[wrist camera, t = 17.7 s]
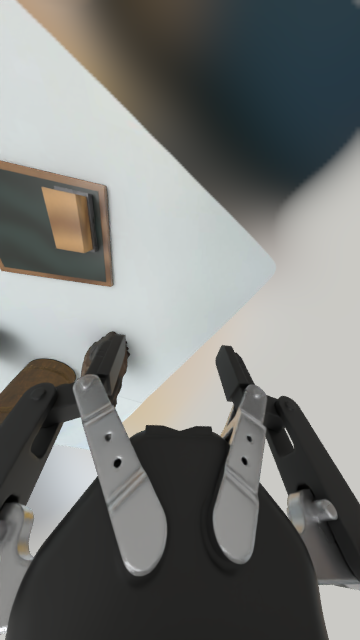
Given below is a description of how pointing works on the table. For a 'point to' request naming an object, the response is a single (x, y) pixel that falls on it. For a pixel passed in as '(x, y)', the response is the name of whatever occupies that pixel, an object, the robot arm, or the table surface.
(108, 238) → the board
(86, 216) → the eraser
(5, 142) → the table surface
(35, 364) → the wooden container
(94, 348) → the owl
